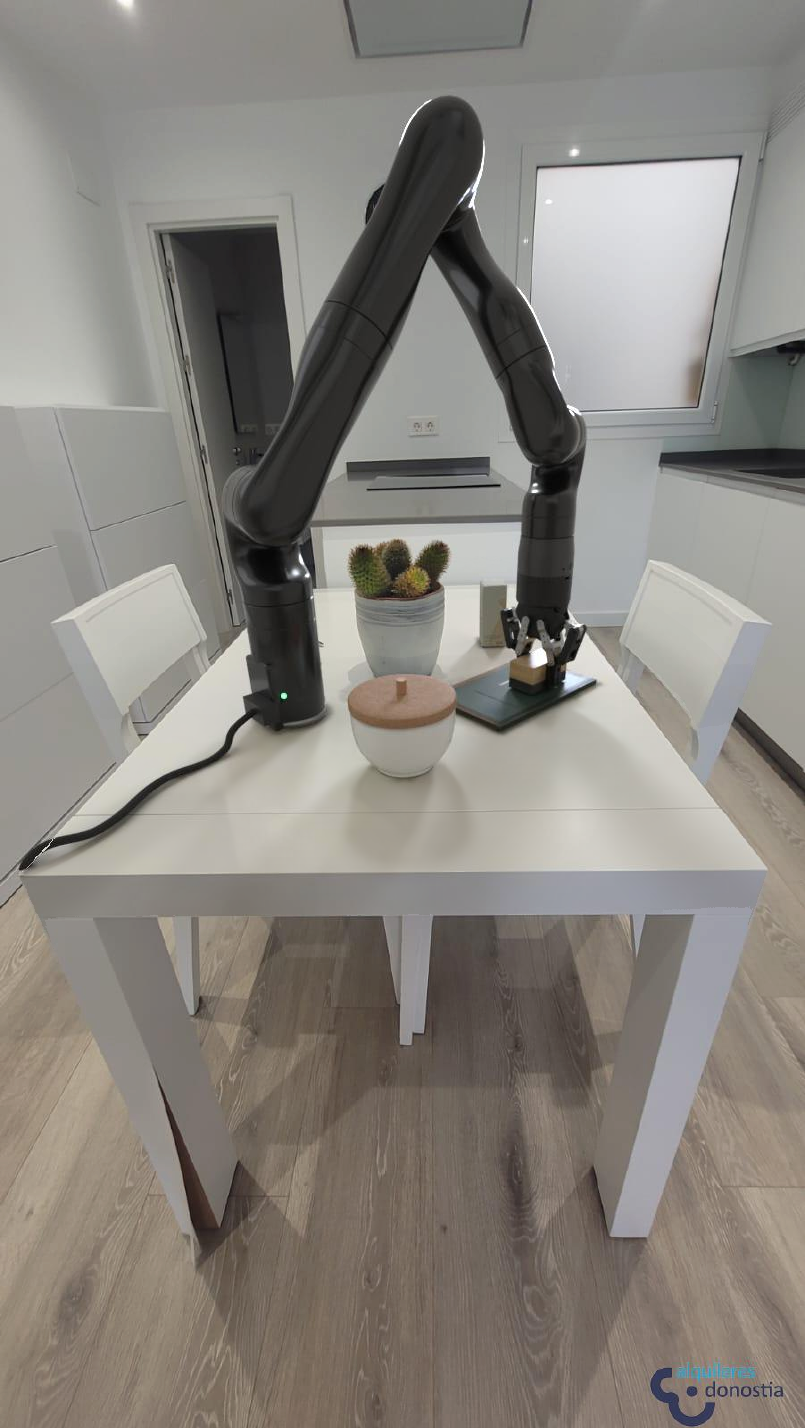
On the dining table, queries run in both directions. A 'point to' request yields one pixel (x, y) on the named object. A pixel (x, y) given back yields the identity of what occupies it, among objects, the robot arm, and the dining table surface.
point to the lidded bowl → (403, 722)
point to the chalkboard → (510, 697)
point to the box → (492, 612)
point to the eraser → (530, 672)
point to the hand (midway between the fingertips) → (537, 681)
